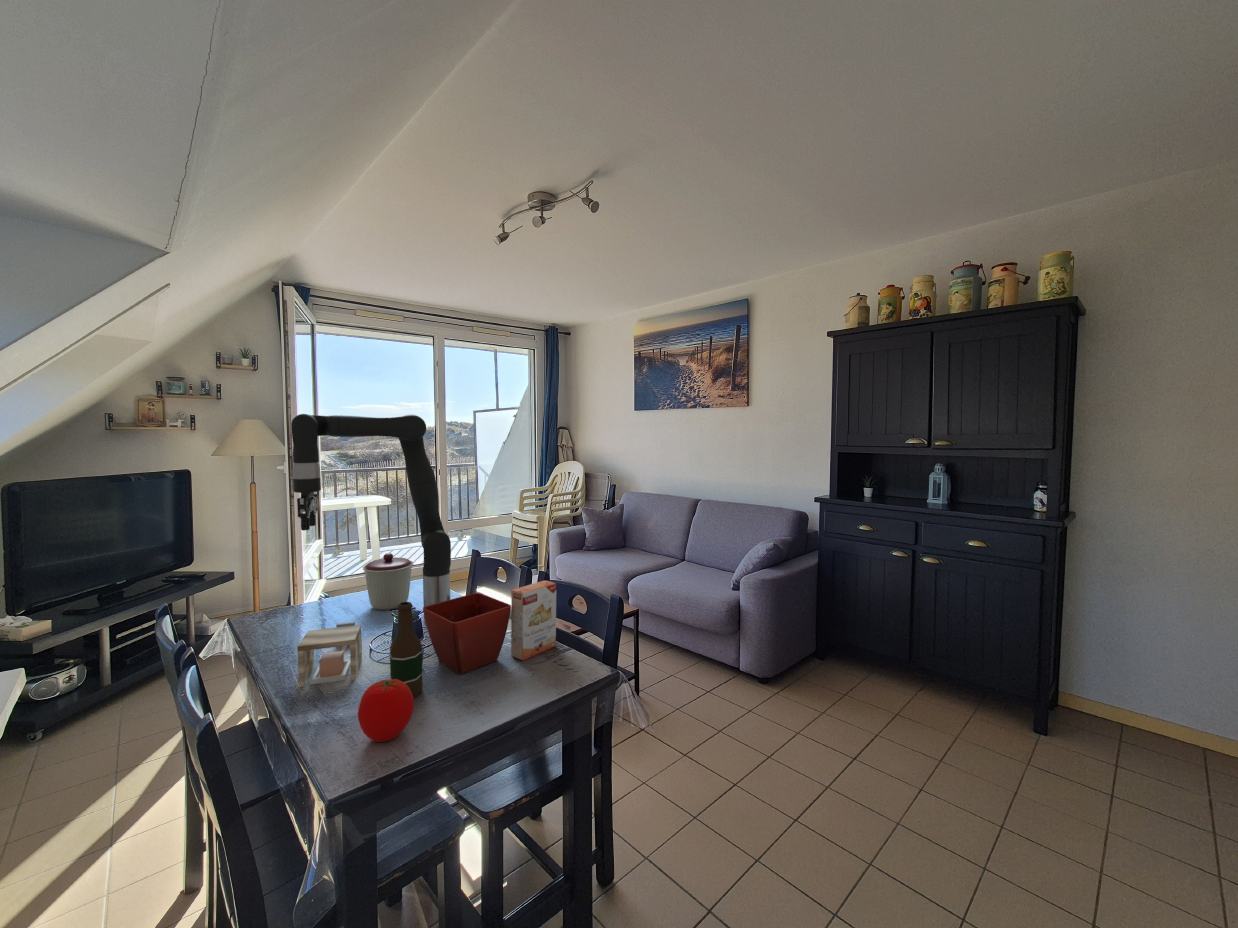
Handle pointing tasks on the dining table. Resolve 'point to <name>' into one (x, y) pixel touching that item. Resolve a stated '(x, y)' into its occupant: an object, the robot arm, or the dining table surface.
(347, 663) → the grey elongated piece
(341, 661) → the coral block
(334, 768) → the dining table surface
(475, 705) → the dining table surface
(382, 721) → the tomato
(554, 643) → the cracker box
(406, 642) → the beer bottle
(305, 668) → the tunnel
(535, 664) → the dining table surface
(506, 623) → the plant pot
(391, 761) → the dining table surface
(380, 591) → the canister
